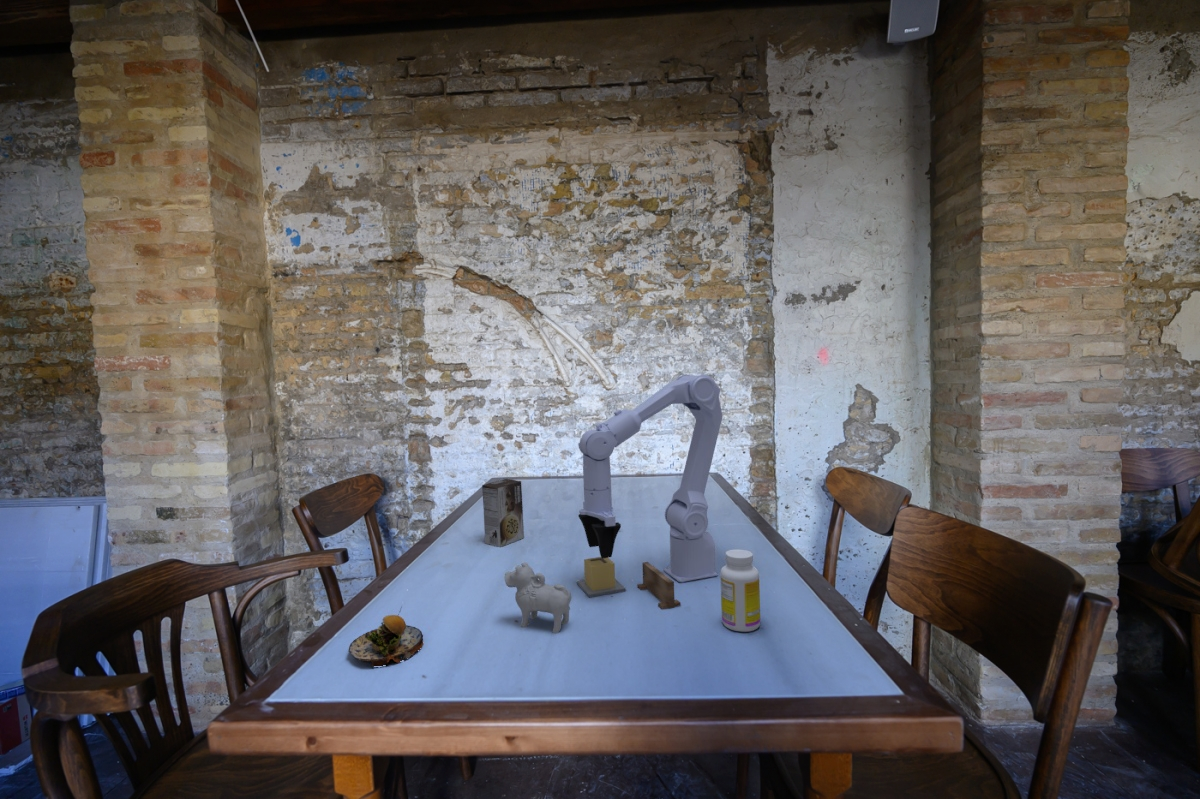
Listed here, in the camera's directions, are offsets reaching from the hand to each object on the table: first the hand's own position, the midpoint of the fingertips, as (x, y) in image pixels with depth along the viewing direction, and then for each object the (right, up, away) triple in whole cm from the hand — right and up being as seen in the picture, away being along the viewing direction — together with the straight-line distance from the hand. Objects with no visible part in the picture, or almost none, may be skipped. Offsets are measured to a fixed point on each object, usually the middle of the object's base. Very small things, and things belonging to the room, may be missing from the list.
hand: (600, 551), depth 117 cm
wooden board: (+12, -8, -5) cm, 15 cm away
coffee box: (-26, -7, +35) cm, 44 cm away
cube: (0, -7, 0) cm, 7 cm away
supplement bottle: (+25, -8, -18) cm, 32 cm away
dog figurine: (-11, -9, -15) cm, 21 cm away
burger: (-36, -11, -23) cm, 44 cm away
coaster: (0, -8, 0) cm, 8 cm away
